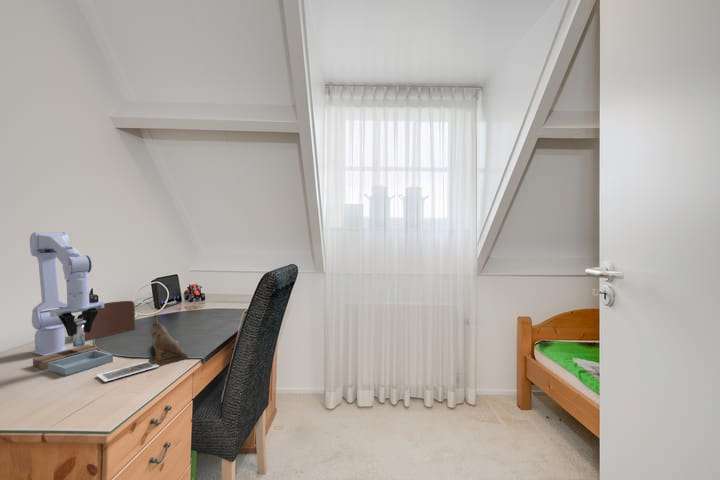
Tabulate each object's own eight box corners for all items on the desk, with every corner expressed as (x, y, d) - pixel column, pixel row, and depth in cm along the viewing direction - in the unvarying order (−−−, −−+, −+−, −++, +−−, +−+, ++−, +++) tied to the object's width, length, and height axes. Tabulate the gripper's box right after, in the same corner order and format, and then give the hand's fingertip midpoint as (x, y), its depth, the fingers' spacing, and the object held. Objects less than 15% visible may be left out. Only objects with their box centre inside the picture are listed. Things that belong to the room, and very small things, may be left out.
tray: (47, 370, 113) (47, 362, 113) (95, 356, 125) (95, 349, 125) (65, 376, 108) (65, 368, 108) (112, 361, 120) (112, 354, 120)
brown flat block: (33, 366, 116) (32, 358, 116) (87, 351, 131) (87, 344, 131) (44, 370, 113) (44, 362, 113) (99, 354, 128) (99, 347, 127)
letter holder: (135, 330, 159) (134, 298, 159) (83, 342, 142) (82, 307, 142) (124, 327, 164) (123, 296, 164) (72, 338, 147) (71, 304, 147)
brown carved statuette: (151, 374, 116) (137, 322, 113) (149, 368, 120) (135, 319, 117) (190, 358, 123) (177, 310, 120) (187, 354, 127) (174, 307, 124)
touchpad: (159, 369, 115) (159, 362, 115) (105, 385, 103) (104, 378, 103) (149, 363, 119) (149, 357, 119) (96, 378, 108) (96, 371, 108)
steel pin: (67, 346, 116) (67, 320, 116) (82, 342, 120) (82, 317, 120) (74, 348, 114) (74, 322, 114) (90, 344, 118) (90, 319, 118)
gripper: (57, 297, 108) (59, 341, 108) (108, 290, 121) (110, 329, 121) (46, 295, 111) (47, 338, 112) (97, 288, 124) (98, 327, 125)
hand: (79, 333), depth 117 cm, fingers closed on steel pin, 4 cm apart
